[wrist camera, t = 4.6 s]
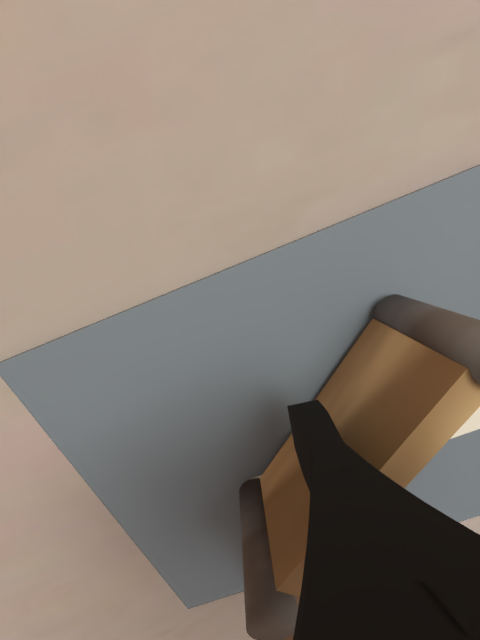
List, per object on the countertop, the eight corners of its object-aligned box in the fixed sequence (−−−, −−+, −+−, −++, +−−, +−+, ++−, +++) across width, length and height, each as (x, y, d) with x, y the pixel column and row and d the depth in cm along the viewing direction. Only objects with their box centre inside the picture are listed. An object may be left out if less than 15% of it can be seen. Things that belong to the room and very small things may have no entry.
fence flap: (417, 304, 11) (556, 351, 6) (282, 486, 14) (310, 610, 9) (389, 287, 11) (513, 323, 6) (256, 477, 13) (272, 600, 9)
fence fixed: (267, 473, 14) (290, 603, 9) (316, 574, 17) (354, 715, 12) (233, 484, 14) (238, 619, 9) (288, 583, 17) (314, 727, 12)
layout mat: (480, 164, 10) (488, 161, 10) (506, 500, 16) (511, 505, 16) (-2, 362, 11) (-9, 366, 11) (188, 602, 17) (188, 609, 17)
